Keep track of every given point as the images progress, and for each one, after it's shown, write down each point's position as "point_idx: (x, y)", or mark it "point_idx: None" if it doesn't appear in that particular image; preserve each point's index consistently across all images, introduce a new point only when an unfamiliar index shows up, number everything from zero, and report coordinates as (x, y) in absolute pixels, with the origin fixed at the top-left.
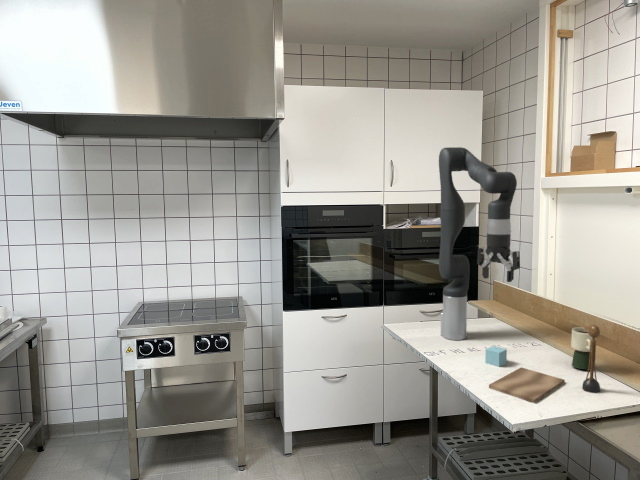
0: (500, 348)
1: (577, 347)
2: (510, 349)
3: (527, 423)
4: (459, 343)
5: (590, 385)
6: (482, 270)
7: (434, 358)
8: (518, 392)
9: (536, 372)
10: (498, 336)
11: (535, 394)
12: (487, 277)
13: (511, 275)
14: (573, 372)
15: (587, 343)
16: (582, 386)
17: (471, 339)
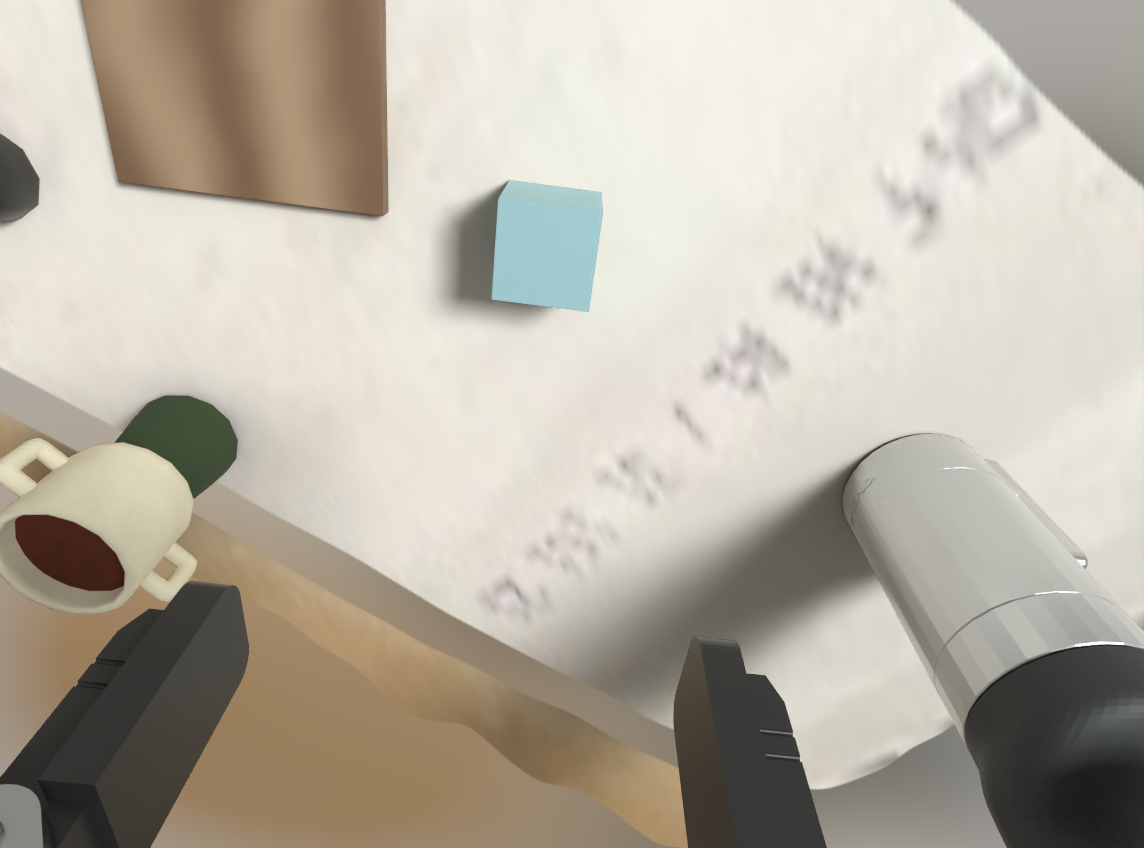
0: (530, 291)
1: (117, 452)
2: (573, 476)
3: None
4: (852, 409)
5: None
6: (809, 797)
7: (931, 42)
8: None
9: (279, 189)
10: (695, 607)
11: None
12: (680, 690)
13: (66, 700)
14: (189, 354)
15: (45, 476)
16: (10, 151)
17: (808, 502)
